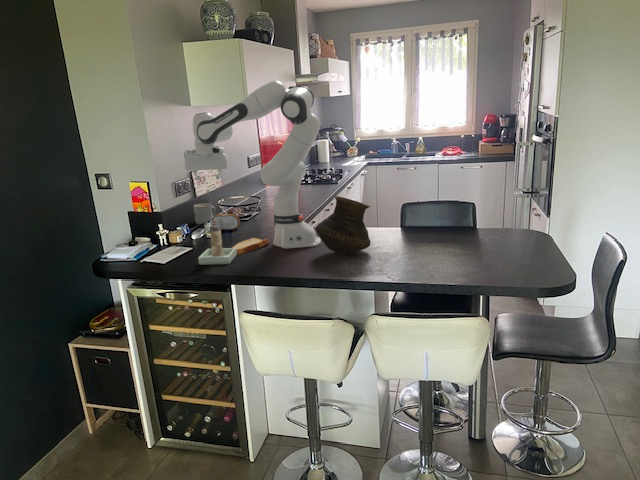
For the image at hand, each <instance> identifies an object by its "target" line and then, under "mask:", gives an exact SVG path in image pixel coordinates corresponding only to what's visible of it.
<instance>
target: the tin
mask: <svg viewBox="0 0 640 480" xmlns="http://www.w3.org/2000/svg"><path fill="white" fill-rule="evenodd" d="M211 223H213V224H215V225H220V228H221V231H227V230H231V231H232V230H233V231H234V230H236V229H238V228H239V226H240V225H241V219H240V217H239V216H238V214H235V213H216V214H215V215H214V216H213V219H212V222H211ZM213 224H212V225H213Z"/></svg>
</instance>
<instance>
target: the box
mask: <svg viewBox="0 0 640 480" xmlns="http://www.w3.org/2000/svg"><path fill="white" fill-rule="evenodd" d="M222 248H223V247H222ZM236 257H237V249H236V248H232V247H229V248H226V247H225V248H223V257H213V253H212V248H207V249H206V250H205V251H204V252H202V253H201V254H200V255H199V256H198V257H197V258H198V265H230V264H231V263H232V261H234V260H235V258H236Z"/></svg>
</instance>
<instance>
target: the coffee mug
mask: <svg viewBox="0 0 640 480" xmlns="http://www.w3.org/2000/svg"><path fill="white" fill-rule="evenodd" d="M193 211H194V221H195V224H197V225H204V224H203V223H205V222H208V221H212V219H213V218H214V216H215V215H216V214H217V213H216V212H217V210H216V207H215V206H214V205H212V203H209V202H208V203H197V204H194V205H193Z"/></svg>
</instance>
